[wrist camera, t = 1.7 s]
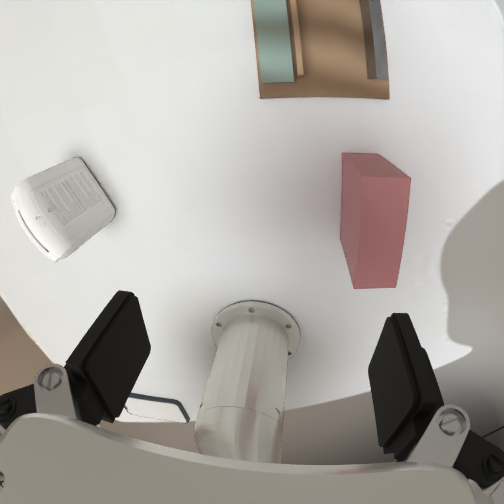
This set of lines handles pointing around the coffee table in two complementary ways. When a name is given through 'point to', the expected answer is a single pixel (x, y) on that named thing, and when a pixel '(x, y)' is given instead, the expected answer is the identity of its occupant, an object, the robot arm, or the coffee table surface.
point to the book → (373, 219)
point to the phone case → (156, 408)
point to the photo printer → (61, 208)
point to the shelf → (312, 50)
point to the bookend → (374, 39)
